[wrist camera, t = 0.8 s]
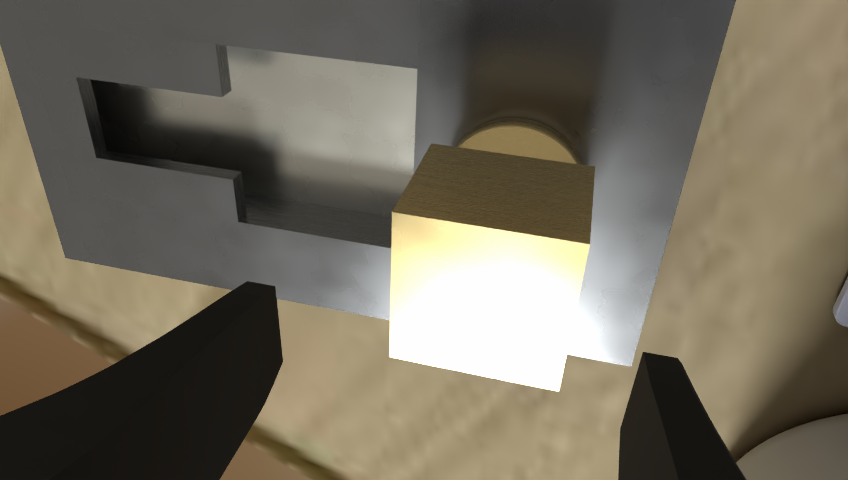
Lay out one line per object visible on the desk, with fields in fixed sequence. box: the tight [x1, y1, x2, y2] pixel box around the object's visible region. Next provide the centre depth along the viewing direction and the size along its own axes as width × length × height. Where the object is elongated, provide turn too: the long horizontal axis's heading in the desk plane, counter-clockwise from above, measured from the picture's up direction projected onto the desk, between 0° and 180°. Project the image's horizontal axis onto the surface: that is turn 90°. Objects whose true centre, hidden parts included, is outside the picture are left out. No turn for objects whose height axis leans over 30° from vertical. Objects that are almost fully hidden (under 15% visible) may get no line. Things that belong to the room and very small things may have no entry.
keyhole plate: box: [0, 0, 736, 367], centre depth 21 cm, size 21×12×3 cm, turn 88°
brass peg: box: [389, 117, 595, 391], centre depth 17 cm, size 4×4×6 cm
